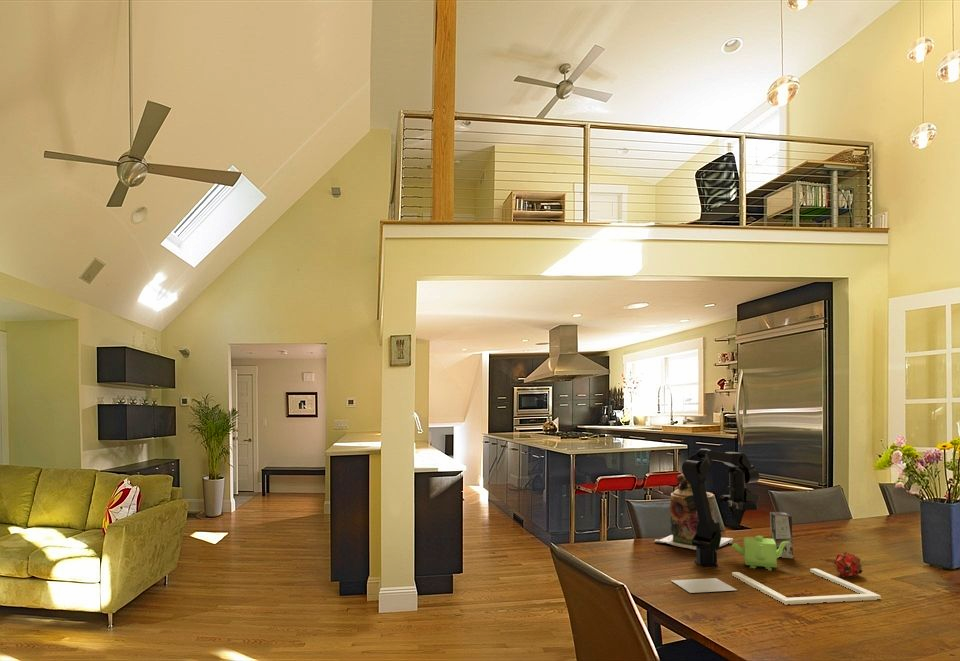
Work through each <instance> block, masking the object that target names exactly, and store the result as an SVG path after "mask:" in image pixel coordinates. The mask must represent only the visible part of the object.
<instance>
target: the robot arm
mask: <svg viewBox="0 0 960 661" xmlns="http://www.w3.org/2000/svg"><path fill="white" fill-rule="evenodd" d="M702 460H703V461H702ZM711 461H715V462H721V463H724V465H727V466H728V468H727V469H726V470H725V473H726V474H728V476H729V486H727V490H729V494H721V495H720V496H719V498H718V499H719V503H721V504H724V503H728V504H727V505H726V507H727V509H728V510H729V512H730V514H731V516H732V518H733V520H734V521H735V524H736V525H737V526H740V525H742V521H743V517H744V515H745V512H746V511H759V508H758V504H759V501H760V498H761V495H758V494H756V493H753V492H752V489H751V490H750V489H749V488H748V487H746V484H751V483H758V481H759V480H760V474H759V471H758V470H757V469H756V468H755V465H754V464H753V465H752V464H751V463H750V461H749V459H748V457H747V455H746V453H744V452H735V451H725V452H724V451H717V450H713V449H710V448H699V449H698V450H697V451H696V452H695V453H693V454H692V455H690V456H689V457H687V458H686V460H685V461H684V462H683V463H682V465H681V472H683V474H684V477H685V479H686V480H687V481H688V482H689V483H690V485H691V489H692V493H693V497H694V502H695V506H696V511H697V515H698V519H699V521H698V524H697V526H696V530H697V532H696V534H695V536H694V538H693V539H692V544H693V546H697V547H696V550H695V551H696V559H695V560H694V563H695V564H697V565H699V566H701V567H718V566H719V564H718V554H717V553H718V552H717V551H716V550H719V549H720V547H719V546H720V541H721V538H722V530H721V524H720V522H719V521H717V520H716V521H714V520H713V519H712V515H711V511H710V506H709V502H708V498H707V493H706V492H707V490H706V485H705V482H706V479H707V476H708V474H707V471H708V470H709V469H710V467H711ZM704 542H707V543H704ZM708 543H709V544H708Z"/></svg>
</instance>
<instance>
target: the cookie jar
mask: <svg viewBox="0 0 960 661" xmlns="http://www.w3.org/2000/svg"><path fill="white" fill-rule="evenodd" d="M676 482H677V483H678V484H680V486H679V488H678V489H676V490H674V491H673V492H671V493H670V502H669V510H670V513H669V514H670V519H669V520H670V526H671V527H670V533H671V534H670V535H668V536H665V537H663V538H660V539H654V543H659V544H669V545H670V546H671V545H672V546H675V547H678V548H679V547H680V548H684V549H688V550H693V551H696V547H697V546H693V544H692V539H693V538H694V536H695V534H696V532H697V530H696V526H697V524H698V521H699V519H698V515H697V511H696V506H695V502H694V497H693V493H692V489H691V485H690V483H689V482H688V481H687V480H686V479H685V477H684V474H683V471H681V473H680V474H678V475H677V477H676ZM706 493H707V498H708V502H709V506H710V511H711V515H712V519H713V520H714V521H716V522H717V520H716V516H715V509H714V504H713V500H714V499H715V494H714V493H712V492H708V491H706ZM733 540H734V537H733V538H731V537H721V541H720V546H719V548H720V547H723V546H727V545H728V543H729V544H732V543H733V542H732V541H733ZM704 543H707V542H704ZM708 544H709V543H708Z"/></svg>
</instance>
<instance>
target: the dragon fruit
mask: <svg viewBox="0 0 960 661" xmlns="http://www.w3.org/2000/svg"><path fill="white" fill-rule="evenodd" d="M834 558H835V559H834V561H833V566H834V568H836V572H837V573H839V574H840V576H841V577H842V576H843V577H842V578H848V576H849V577H853V576H854V578H855V577H857V576H858V575H860V574H862V573H863V567H862V564H861V558H860V557H858V556H855V554H854V553H852V552H851V553H850V552H849V553H848V552H847V551H844V552H842V553H841V554H837V555H836V557H834Z"/></svg>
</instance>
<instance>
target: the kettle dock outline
mask: <svg viewBox="0 0 960 661" xmlns="http://www.w3.org/2000/svg"><path fill="white" fill-rule="evenodd" d="M809 572H810V573H812V574H813V573H814V575H816V576H818V577H820V578H822V577H823V579H826V580H827V579H828V580H827V581H829V580H830V581H829V582H831V583H834V582H835V583H834V584H836V583H837V584H836V585H838V584H840V585H839V586H841V585H842V586H841V587H843V586H844V587H843V588H845V587H846V588H845V589H848V588H849V589H848V590H850V589H851V590H850V591H852V590H853V591H852V592H854V591H855V592H854V594H853V593H852V594H851V593H849V594H833V595H815V596H813V595H812V596H799V597H797V596H796V597H787V596H785V595H783V594H781V593H780V592H777V591H775V590H774V589H772V588H770V587H768V586H767V585H764V584H763V583H760V582H759V581H756V580H755V579H753V578H751V577H749V576H747V575H746V574H744V573H742V572H739V571H732V572H731V576H732V577H733V576H734V578H735V577H736V578H735V579H737V578H738V579H737V580H739V579H740V580H739V581H741V582H742V583H744V582H745V584H746V585H749V586H750V587H752V588H754V589H755V588H756V590H757V589H758V591H759V590H760V591H759V592H762V593H763V594H765V595H766V594H767V595H766V596H768V595H769V597H770V596H771V597H770V598H772V597H773V598H772V599H774V600H775V601H777V600H778V601H777V602H779V601H780V602H779V603H781V602H782V603H781V604H783V603H784V605H785V606H787V605H788V604H790V605H805V604H807V603H809V604H824V603H823V602H827V603H839V602H840V603H841V602H842V603H844V602H843V601H845V602H858V601H859V602H860V601H862V600H863V601H876V600H877V599H881V600H882V596H881V595H880V594H878V593H875V592H873V591H871V590H869V589H866V588H863V587H861V586H859V585H856V584H854V583H851V582H850V581H848V580H845V579H843V578H840V577H838V576H835V575H833V574H831V573H828V572H825V571H823V570H821V569H819V568H815V567H814V568H809ZM859 593H860V594H859ZM863 601H862V602H863ZM807 605H808V604H807Z"/></svg>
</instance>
